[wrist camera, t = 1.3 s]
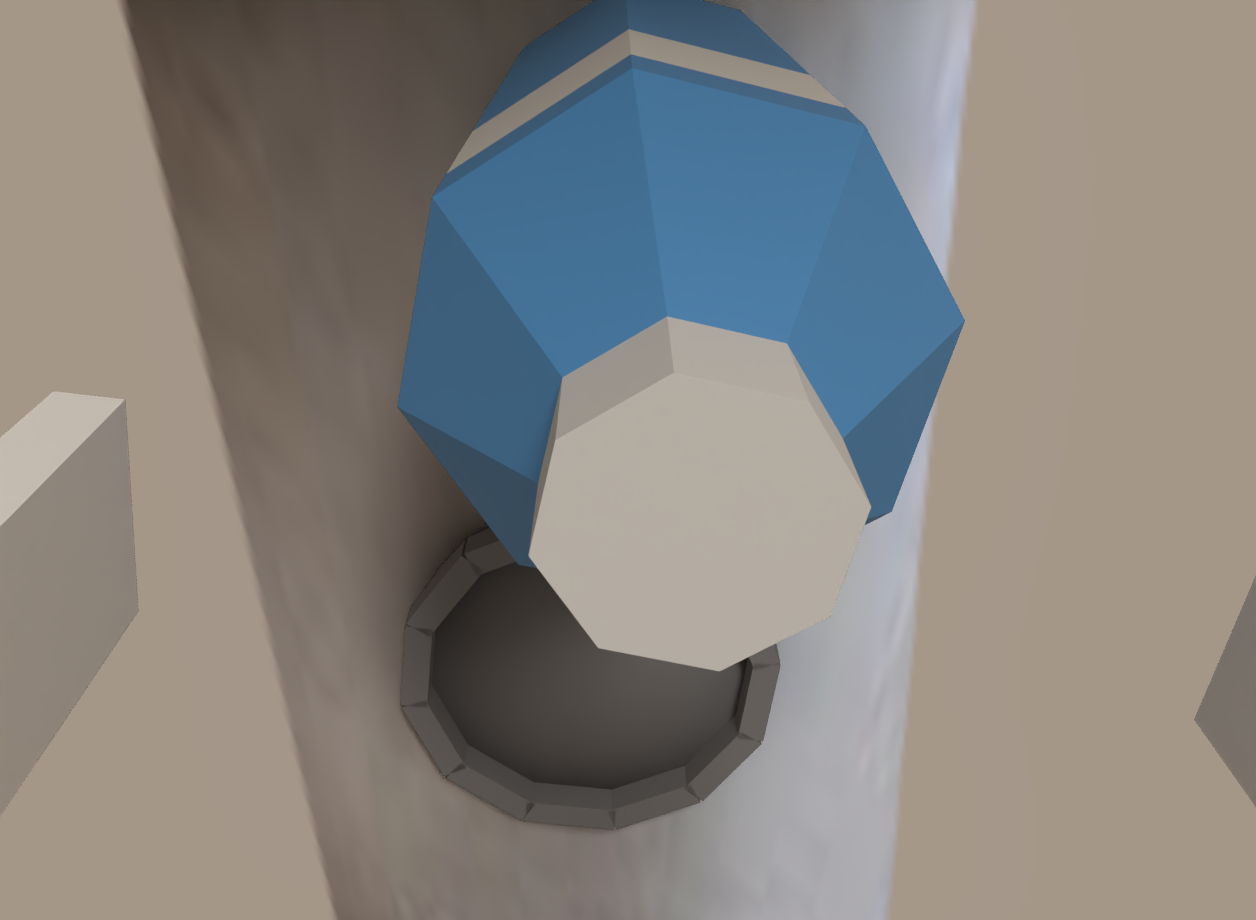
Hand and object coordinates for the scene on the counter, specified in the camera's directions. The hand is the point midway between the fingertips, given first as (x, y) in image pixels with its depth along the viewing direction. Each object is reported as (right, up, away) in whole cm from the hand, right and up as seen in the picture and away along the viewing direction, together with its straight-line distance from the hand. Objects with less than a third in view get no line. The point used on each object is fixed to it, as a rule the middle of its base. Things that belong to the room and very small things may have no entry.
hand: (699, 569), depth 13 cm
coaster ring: (-2, -7, +32) cm, 32 cm away
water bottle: (0, +11, +23) cm, 26 cm away
